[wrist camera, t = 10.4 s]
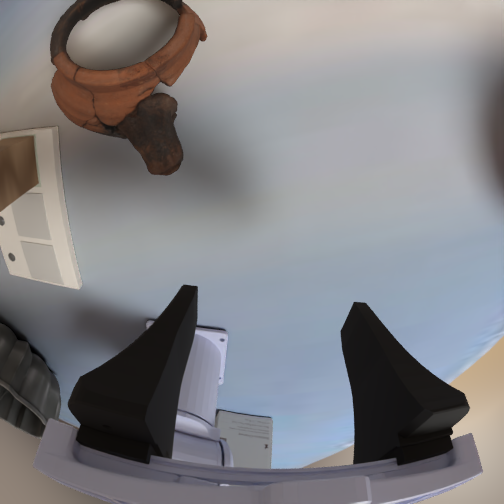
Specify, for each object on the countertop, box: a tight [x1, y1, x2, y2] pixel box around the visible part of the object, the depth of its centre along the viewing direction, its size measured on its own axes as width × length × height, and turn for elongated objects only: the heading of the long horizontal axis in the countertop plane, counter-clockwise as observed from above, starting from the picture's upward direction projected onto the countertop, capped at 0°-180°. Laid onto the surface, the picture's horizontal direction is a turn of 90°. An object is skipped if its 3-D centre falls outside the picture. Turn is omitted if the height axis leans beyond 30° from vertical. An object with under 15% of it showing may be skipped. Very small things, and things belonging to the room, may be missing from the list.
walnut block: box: [0, 136, 39, 212], centre depth 15 cm, size 4×4×5 cm
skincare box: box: [214, 410, 273, 486], centre depth 33 cm, size 8×6×15 cm
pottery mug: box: [50, 0, 207, 176], centre depth 14 cm, size 12×10×8 cm
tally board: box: [0, 126, 83, 290], centre depth 21 cm, size 15×10×1 cm, turn 173°
